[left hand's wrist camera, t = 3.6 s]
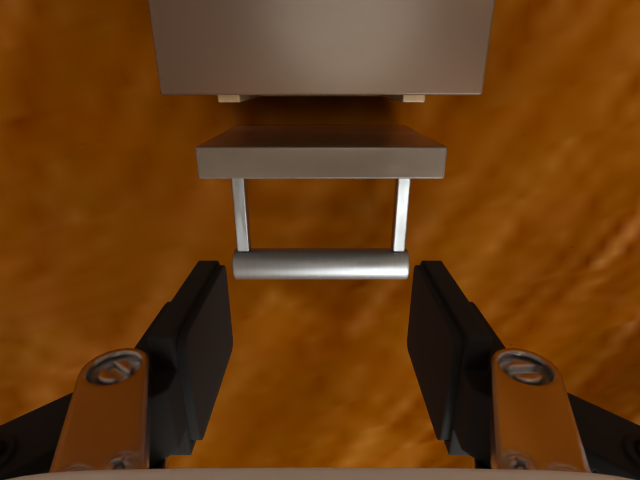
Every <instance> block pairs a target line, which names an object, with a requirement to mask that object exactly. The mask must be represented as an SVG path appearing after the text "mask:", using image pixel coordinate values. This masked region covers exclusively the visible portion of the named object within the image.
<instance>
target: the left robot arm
mask: <svg viewBox="0 0 640 480" xmlns="http://www.w3.org/2000/svg"><path fill="white" fill-rule="evenodd" d="M232 347H233V336H232V326H231V316H230V305H229V295H228V285H227V274H226V267H225V265H220V264H219V262H218V261H199V262H198V263H197V264H196V266H195V267H194V269H193V270H192V272H191V273H190V275H189V276H188V278H187V279H186V280H185V282H184V283H183V285H182V286H181V288H180V289H179V291H178V292H177V294H176V295H175V297H174V298H173V300H172V301H171V302H167V303H166V304H165V305H164V306H163V308H162V309H161V311H160V312H159V314H158V315H157V316H156V318H155V319H154V321H153V322H152V324H151V325H150V327H149V328H148V329H147V331H146V332H145V334H144V335H143V337H142V338H141V339H140V341H139V342H138V344H137V345H136V347H135V348H134V349H133V348H124V349H117V350H113V351H109V352H106V353H104V354H102V355H99V356H97V357H96V358H94V359H93V360H91V361H90V362H88V363H87V364H86V365H85V366H84V367H83V368H82V370H81V371H80V373H79V375H78V378H77V381H76V385H75V388H74V391H73V393H71V394H68V395H66V396H64V397H62V398H60V399H58V400H55V401H53V402H51V403H49V404H47V405H44V406H42V407H40V408H38V409H36V410H34V411H31V412H29V413H27V414H25V415H23V416H21V417H18V418H16V419H14V420H12V421H10V422H7V423H5V424H3V425H1V426H0V480H640V426H639V425H637V424H635V423H633V422H630V421H628V420H626V419H624V418H622V417H619V416H617V415H615V414H613V413H611V412H609V411H606V410H604V409H602V408H600V407H598V406H596V405H593V404H591V403H589V402H587V401H585V400H582V399H580V398H578V397H576V396H574V395H572V394H569V393H567V391H566V388H565V385H564V381H563V378H562V375H561V373H560V371H559V370H558V368H557V367H556V366H555V365H554V364H553V363H552V362H550V361H549V360H547V359H546V358H544V357H543V356H541V355H538V354H536V353H534V352H531V351H527V350H523V349H516V348H507V349H506V348H505V347H504V345H503V344H502V342H501V341H500V339H499V338H498V337H497V335H496V334H495V332H494V331H493V329H492V328H491V327H490V325H489V324H488V322H487V321H486V319H485V318H484V317H483V315H482V314H481V312H480V311H479V309H478V308H477V306H476V305H475V304H474V303H473V302H469V301H468V300H467V298H466V297H465V295H464V294H463V292H462V291H461V289H460V288H459V286H458V285H457V283H456V282H455V281H454V279H453V278H452V276H451V275H450V273H449V272H448V270H447V269H446V267H445V266H444V264H443V263H442V262H441V261H422V262H421V264H420V265H415V267H414V274H413V284H412V295H411V305H410V316H409V326H408V336H407V347H408V352H409V355H410V358H411V361H412V364H413V367H414V370H415V373H416V376H417V379H418V382H419V386H420V389H421V392H422V395H423V398H424V401H425V404H426V407H427V410H428V413H429V416H430V419H431V422H432V425H433V428H434V431H435V434H436V437H437V439H438V440H444V442H445V445H446V447H447V450H448V453H449V455H470V456H472V462H471V469H460V468H180V469H169V462H168V456H170V455H191V453H192V450H193V447H194V445H195V442H196V440H202V439H203V437H204V434H205V431H206V428H207V425H208V422H209V419H210V416H211V413H212V410H213V407H214V404H215V401H216V398H217V395H218V392H219V389H220V386H221V382H222V379H223V376H224V373H225V370H226V367H227V364H228V361H229V358H230V355H231V352H232Z"/></svg>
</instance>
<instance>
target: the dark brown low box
mask: <svg viewBox="0 0 640 480" xmlns="http://www.w3.org/2000/svg"><path fill="white" fill-rule="evenodd" d="M148 4H149V11H150V18H151V25H152V33H153V40H154V47H155V54H156V61H157V69H158V76H159V83H160V90H161V94H162V95H481V94H482V90H483V83H484V76H485V69H486V62H487V54H488V47H489V40H490V33H491V26H492V19H493V12H494V5H495V0H148Z"/></svg>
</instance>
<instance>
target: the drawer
mask: <svg viewBox="0 0 640 480" xmlns="http://www.w3.org/2000/svg"><path fill="white" fill-rule="evenodd" d="M262 96H380V97H384V98H388V99H393V100H397V101H401V102H424V101H425V95H218V101H219V102H242V101H246V100H250V99H254V98H258V97H262ZM446 155H447V147H446V146H444V145H442V144H440V143H438V142H436V141H434V140H432V139H430V138H428V137H426V136H424V135H422V134H420V133H418V132H416V131H414V130H413V129H411V128H409V127H407V126H405V125H237V126H235V127H233V128H231V129H229V130H228V131H226V132H224V133H222V134H220V135H218V136H216V137H214V138H212V139H210V140H209V141H207V142H205V143H203V144H201V145H199V146H197V147H196V158H197V167H198V175H199V178H200V179H231V181H232V193H233V205H234V217H235V229H236V241H237V249H235V251H234V254H233V262H232V268H233V275H234V278H235V279H407V278H408V275H409V268H410V261H409V254H408V251H407V249H405V241H406V229H407V218H408V206H409V194H410V183H411V179H442V178H444V172H445V163H446ZM246 179H396V183H395V197H394V211H393V225H392V239H391V248H251V239H250V225H249V211H248V196H247V182H246Z"/></svg>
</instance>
